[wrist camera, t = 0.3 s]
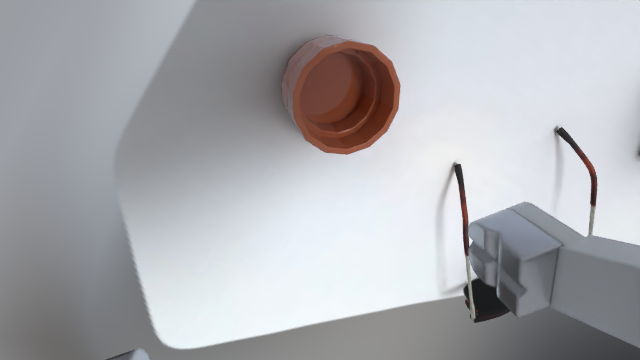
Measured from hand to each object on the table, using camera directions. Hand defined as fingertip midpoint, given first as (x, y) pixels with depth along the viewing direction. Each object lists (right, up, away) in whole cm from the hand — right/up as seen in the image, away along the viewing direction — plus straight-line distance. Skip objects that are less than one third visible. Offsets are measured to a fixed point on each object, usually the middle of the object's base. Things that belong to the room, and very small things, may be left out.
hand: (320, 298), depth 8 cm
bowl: (+1, +10, +17) cm, 19 cm away
